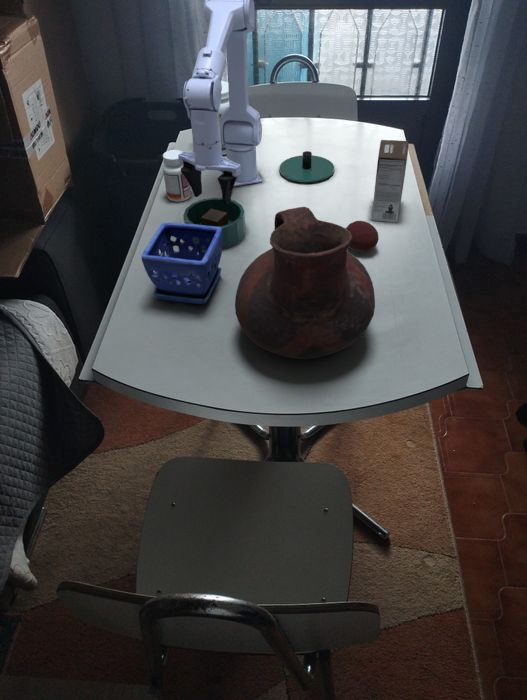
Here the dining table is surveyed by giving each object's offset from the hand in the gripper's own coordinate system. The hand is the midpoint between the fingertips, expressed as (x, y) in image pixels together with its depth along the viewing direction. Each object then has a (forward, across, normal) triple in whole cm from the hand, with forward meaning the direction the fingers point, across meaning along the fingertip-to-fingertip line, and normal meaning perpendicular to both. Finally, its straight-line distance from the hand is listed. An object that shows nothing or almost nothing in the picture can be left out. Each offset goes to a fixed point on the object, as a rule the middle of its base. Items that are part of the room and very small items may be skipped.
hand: (212, 198), depth 133 cm
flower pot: (+9, +6, -20) cm, 23 cm away
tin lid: (+8, +6, +37) cm, 38 cm away
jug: (+9, +33, -22) cm, 41 cm away
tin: (+9, 0, 0) cm, 9 cm away
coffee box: (+9, +32, +26) cm, 42 cm away
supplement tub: (+9, -23, +39) cm, 46 cm away
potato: (+9, +32, +9) cm, 34 cm away
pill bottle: (+9, -18, +11) cm, 23 cm away
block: (+8, 0, 0) cm, 8 cm away
